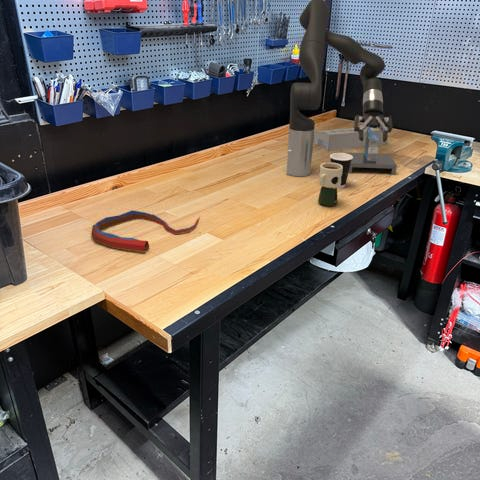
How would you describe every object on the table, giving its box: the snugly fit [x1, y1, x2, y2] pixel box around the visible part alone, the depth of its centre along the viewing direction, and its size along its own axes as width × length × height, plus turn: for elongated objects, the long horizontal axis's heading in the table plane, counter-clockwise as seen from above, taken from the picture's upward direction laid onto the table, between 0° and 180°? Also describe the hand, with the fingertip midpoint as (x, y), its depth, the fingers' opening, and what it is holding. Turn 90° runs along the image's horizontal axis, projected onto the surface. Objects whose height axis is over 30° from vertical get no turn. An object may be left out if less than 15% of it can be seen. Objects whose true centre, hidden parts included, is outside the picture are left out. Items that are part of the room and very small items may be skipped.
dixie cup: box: [329, 152, 353, 189], centre depth 162 cm, size 8×8×11 cm
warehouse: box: [313, 127, 388, 152], centre depth 211 cm, size 30×14×8 cm, turn 109°
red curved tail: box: [90, 210, 201, 254], centre depth 132 cm, size 31×22×5 cm
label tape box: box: [363, 126, 379, 162], centre depth 177 cm, size 9×4×12 cm, turn 173°
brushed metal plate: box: [344, 151, 398, 176], centre depth 181 cm, size 18×14×4 cm
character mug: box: [317, 161, 343, 207], centre depth 147 cm, size 11×7×13 cm, turn 136°
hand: (373, 140), depth 176 cm, fingers open, 8 cm apart
